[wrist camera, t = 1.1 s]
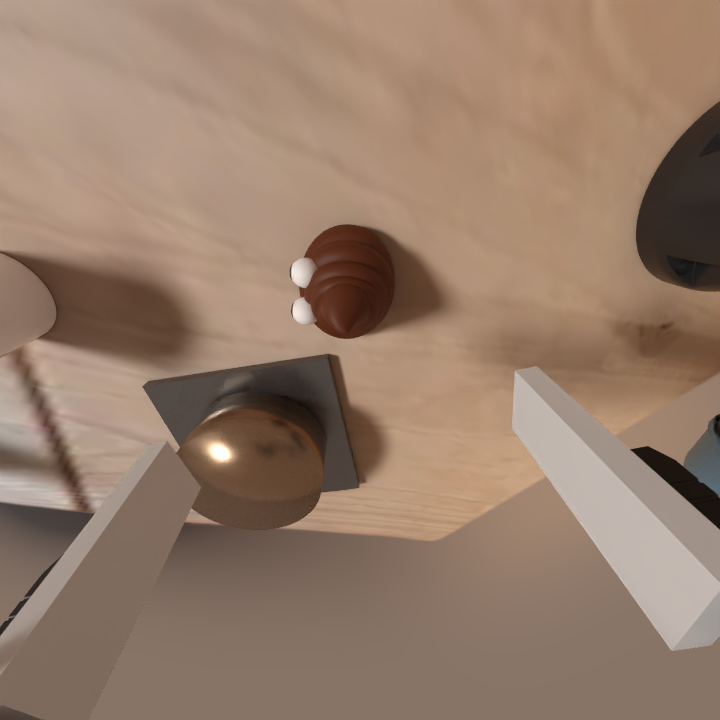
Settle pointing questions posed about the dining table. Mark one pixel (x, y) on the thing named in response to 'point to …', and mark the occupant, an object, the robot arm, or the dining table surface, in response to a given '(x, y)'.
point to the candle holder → (22, 306)
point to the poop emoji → (344, 282)
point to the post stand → (259, 439)
